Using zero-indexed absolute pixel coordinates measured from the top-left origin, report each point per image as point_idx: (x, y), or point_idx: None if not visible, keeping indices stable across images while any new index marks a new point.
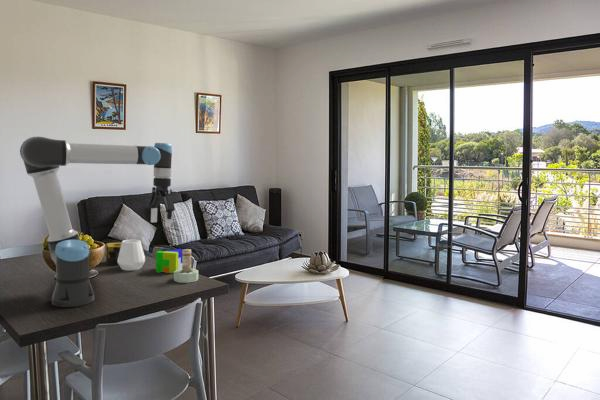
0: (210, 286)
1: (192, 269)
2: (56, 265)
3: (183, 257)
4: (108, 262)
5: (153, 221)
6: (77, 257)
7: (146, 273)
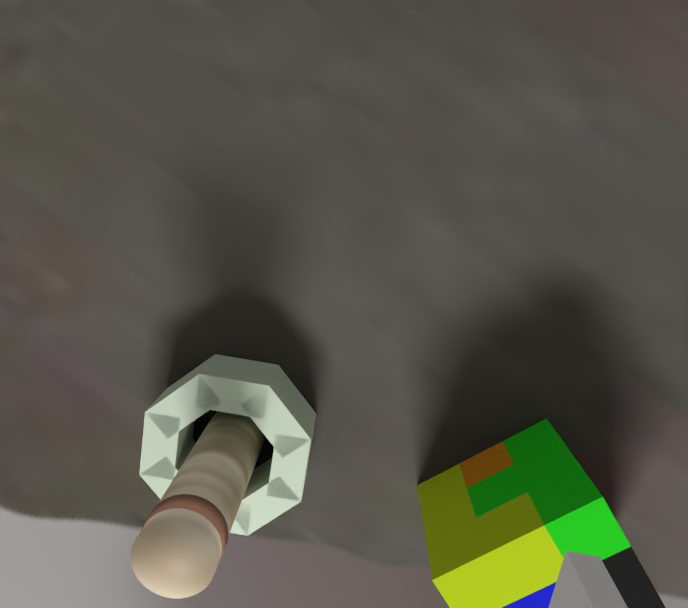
0: (5, 426)
1: None
2: None
3: (188, 486)
4: None
5: (561, 600)
6: None
7: (572, 354)
